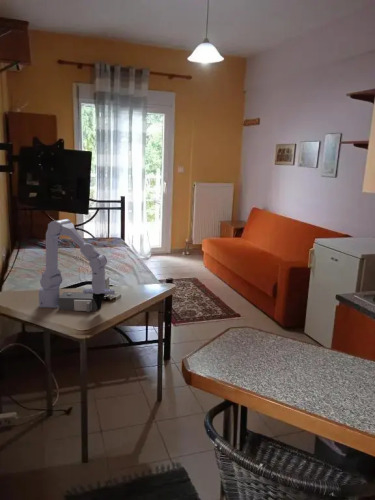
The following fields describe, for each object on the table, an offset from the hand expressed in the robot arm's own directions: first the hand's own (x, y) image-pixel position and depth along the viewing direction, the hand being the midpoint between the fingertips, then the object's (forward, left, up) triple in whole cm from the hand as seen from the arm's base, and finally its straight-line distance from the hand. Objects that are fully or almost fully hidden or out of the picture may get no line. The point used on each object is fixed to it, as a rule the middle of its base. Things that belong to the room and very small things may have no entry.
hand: (99, 308), depth 191 cm
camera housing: (-11, +8, -2) cm, 14 cm away
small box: (-4, +25, -3) cm, 25 cm away
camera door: (-8, +1, -2) cm, 9 cm away
